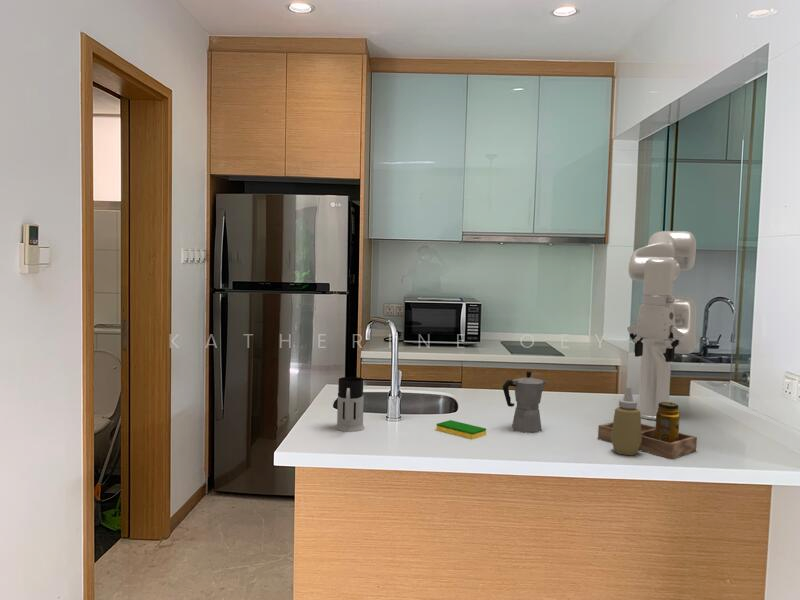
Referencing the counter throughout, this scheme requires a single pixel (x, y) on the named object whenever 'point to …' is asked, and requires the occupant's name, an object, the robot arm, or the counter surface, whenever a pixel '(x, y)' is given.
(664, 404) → the condiment
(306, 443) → the counter surface
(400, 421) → the counter surface
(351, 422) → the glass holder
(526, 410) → the coffeepot
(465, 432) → the dish sponge
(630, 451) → the squeeze bottle
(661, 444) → the caddy
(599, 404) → the counter surface
